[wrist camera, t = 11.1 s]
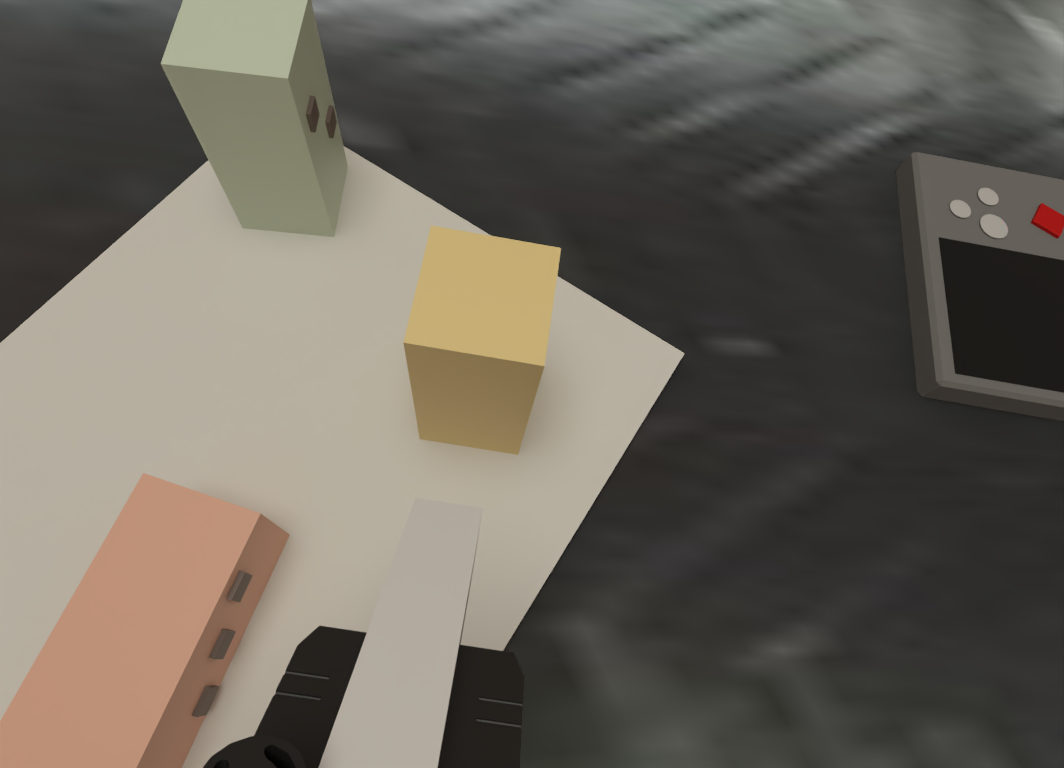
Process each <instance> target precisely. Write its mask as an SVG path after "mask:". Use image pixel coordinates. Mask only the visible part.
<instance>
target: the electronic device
mask: <svg viewBox="0 0 1064 768" xmlns="http://www.w3.org/2000/svg"><path fill="white" fill-rule="evenodd" d="M896 179H897V189H898V200H899V210H900V220H901V230H902V241H903V251H904V261H905V271H906V282H907V292H908V302H909V312H910V323H911V333H912V343H913V353H914V364H915V374H916V384H917V392H918V393H919V394H920V395H921V396H922V397H926V398H932V399H938V400H944V401H949V402H955V403H961V404H967V405H973V406H978V407H984V408H990V409H996V410H1002V411H1007V412H1013V413H1019V414H1025V415H1031V416H1036V417H1042V418H1048V419H1054V420H1060V421H1064V180H1061V179H1056V178H1050V177H1045V176H1040V175H1035V174H1029V173H1024V172H1019V171H1014V170H1008V169H1003V168H998V167H993V166H987V165H982V164H977V163H972V162H966V161H961V160H956V159H951V158H945V157H940V156H935V155H930V154H924V153H919V152H914V153H912V154H911V155H910V156H909V157H908V158H907V160H906V161H905V162H904V163H903V164H902V165H901V166H900V167H899V168H898V169H897V171H896Z"/></svg>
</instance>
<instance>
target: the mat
mask: <svg viewBox="0 0 1064 768" xmlns="http://www.w3.org/2000/svg"><path fill="white" fill-rule="evenodd" d="M343 147H344V146H343ZM344 151H345V156H346V160H347V165H348V168H347V173H346V178H345V184H344V189H343V194H342V199H341V204H340V209H339V215H338V220H337V225H336V230H335V235H334V237H327V236H317V235H307V234H297V233H287V232H277V231H266V230H256V229H246V228H242V226H241V224H240V222H239V220H238V218H237V216H236V214H235V212H234V210H233V208H232V206H231V204H230V202H229V200H228V198H227V196H226V194H225V192H224V190H223V188H222V186H221V184H220V182H219V180H218V178H217V176H216V174H215V172H214V170H213V168H212V166H211V164H210V162H209V160H208V161H207V162H206V163H205V164H204V165H202V166H201V167H200V168H199V169H198V170H197V171H196V172H194V173H193V174H192V175H191V176H190V177H189V178H188V179H187V180H185V181H184V182H183V183H182V184H181V185H180V186H179V187H177V188H176V189H175V190H174V191H173V192H172V193H171V194H169V195H168V196H167V197H166V198H165V199H164V200H163V201H161V202H160V203H159V204H158V205H157V206H156V207H155V208H154V209H152V210H151V211H150V212H149V213H148V214H147V215H146V216H144V217H143V218H142V219H141V220H140V221H139V222H138V223H136V224H135V225H134V226H133V227H132V228H131V229H130V230H129V231H127V232H126V233H125V234H124V235H123V236H122V237H121V238H119V239H118V240H117V241H116V242H115V243H114V244H113V245H111V246H110V247H109V248H108V249H107V250H106V251H105V252H103V253H102V254H101V255H100V256H99V257H98V258H97V259H96V260H94V261H93V262H92V263H91V264H90V265H89V266H88V267H86V268H85V269H84V270H83V271H82V272H81V273H80V274H78V275H77V276H76V277H75V278H74V279H73V280H72V281H70V282H69V283H68V284H67V285H66V286H65V287H64V288H63V289H61V290H60V291H59V292H58V293H57V294H56V295H55V296H53V297H52V298H51V299H50V300H49V301H48V302H47V303H45V304H44V305H43V306H42V307H41V308H40V309H39V310H37V311H36V312H35V313H34V314H33V315H32V316H31V317H30V318H28V319H27V320H26V321H25V322H24V323H23V324H22V325H20V326H19V327H18V328H17V329H16V330H15V331H14V332H12V333H11V334H10V335H9V336H8V337H7V338H6V339H5V340H3V341H2V342H1V343H0V721H1V719H2V717H3V715H4V714H5V712H6V710H7V708H8V707H9V705H10V703H11V701H12V700H13V698H14V696H15V695H16V693H17V691H18V689H19V688H20V686H21V684H22V682H23V681H24V679H25V677H26V675H27V674H28V672H29V670H30V669H31V667H32V665H33V663H34V662H35V660H36V658H37V656H38V655H39V653H40V651H41V649H42V648H43V646H44V644H45V643H46V641H47V639H48V637H49V636H50V634H51V632H52V630H53V629H54V627H55V625H56V623H57V622H58V620H59V618H60V616H61V615H62V613H63V611H64V610H65V608H66V606H67V604H68V603H69V601H70V599H71V597H72V596H73V594H74V592H75V590H76V589H77V587H78V585H79V584H80V582H81V580H82V578H83V577H84V575H85V573H86V571H87V570H88V568H89V566H90V564H91V563H92V561H93V559H94V557H95V556H96V554H97V552H98V551H99V549H100V547H101V545H102V544H103V542H104V540H105V538H106V537H107V535H108V533H109V531H110V530H111V528H112V526H113V525H114V523H115V521H116V519H117V518H118V516H119V514H120V512H121V511H122V509H123V507H124V505H125V504H126V502H127V500H128V498H129V497H130V495H131V493H132V492H133V490H134V488H135V486H136V485H137V483H138V481H139V479H140V478H141V476H142V474H143V473H145V474H148V475H151V476H154V477H157V478H160V479H162V480H165V481H168V482H171V483H174V484H177V485H180V486H183V487H186V488H189V489H191V490H194V491H197V492H200V493H203V494H206V495H209V496H212V497H215V498H218V499H220V500H223V501H226V502H229V503H232V504H235V505H238V506H241V507H244V508H247V509H250V510H252V511H255V512H258V513H261V514H262V515H264V516H265V517H266V518H268V519H269V520H270V521H272V522H273V523H274V524H276V525H277V526H279V527H280V528H281V529H283V530H284V531H285V532H287V533H288V534H289V535H290V536H289V538H288V540H287V542H286V544H285V546H284V548H283V551H282V553H281V555H280V557H279V559H278V561H277V564H276V566H275V568H274V570H273V572H272V574H271V576H270V579H269V581H268V583H267V585H266V587H265V589H264V592H263V594H262V596H261V598H260V600H259V602H258V604H257V607H256V609H255V611H254V613H253V615H252V617H251V620H250V622H249V624H248V626H247V628H246V630H245V632H244V635H243V637H242V639H241V641H240V643H239V645H238V648H237V650H236V652H235V654H234V656H233V658H232V660H231V663H230V665H229V667H228V669H227V671H226V673H225V676H224V678H223V680H222V682H221V684H220V686H219V689H218V692H217V694H216V696H215V698H214V700H213V702H212V705H211V707H210V709H209V711H208V713H207V715H206V716H205V719H204V721H203V723H202V725H201V727H200V729H199V732H198V734H197V736H196V738H195V740H194V742H193V745H192V747H191V749H190V751H189V753H188V755H187V757H186V760H185V762H184V764H183V766H182V768H203V767H204V765H205V764H206V763H207V761H208V760H209V759H210V758H211V756H213V755H214V754H216V753H217V752H219V751H220V750H221V749H223V748H224V747H226V746H227V745H229V744H230V743H233V742H236V741H239V740H242V739H245V738H248V737H251V736H254V735H255V733H256V730H257V728H258V726H259V724H260V722H261V720H262V718H263V716H264V714H265V712H266V710H267V708H268V706H269V703H270V701H271V699H272V697H273V696H274V695H275V692H276V689H277V687H278V685H279V683H280V681H281V679H282V676H283V675H285V671H286V668H287V666H288V664H289V662H290V660H291V658H292V656H293V654H294V652H295V650H296V647H297V645H298V644H299V643H300V642H302V641H303V640H304V639H305V638H306V637H307V636H308V635H309V634H311V633H312V632H313V631H314V630H315V629H316V628H317V627H318V626H319V625H320V626H326V627H333V628H340V629H346V630H353V631H360V632H367V631H368V628H369V625H370V623H371V620H372V617H373V614H374V611H375V609H376V606H377V603H378V600H379V597H380V595H381V592H382V589H383V586H384V584H385V581H386V578H387V575H388V572H389V570H390V567H391V564H392V561H393V558H394V556H395V553H396V550H397V547H398V545H399V542H400V539H401V536H402V533H403V531H404V528H405V525H406V522H407V519H408V517H409V514H410V511H411V508H412V506H413V503H414V500H415V498H420V499H427V500H433V501H439V502H446V503H452V504H459V505H465V506H471V507H478V508H483V511H482V517H481V524H480V530H479V536H478V542H477V548H476V555H475V561H474V567H473V573H472V579H471V586H470V592H469V598H468V604H467V610H466V616H465V622H464V627H463V633H462V639H461V645H466V646H472V647H479V648H486V649H492V650H499V651H503V650H504V648H505V647H506V645H507V643H508V642H509V640H510V638H511V637H512V635H513V633H514V632H515V630H516V629H517V627H518V625H519V624H520V622H521V620H522V619H523V617H524V615H525V614H526V612H527V611H528V609H529V607H530V606H531V604H532V602H533V601H534V599H535V597H536V596H537V594H538V593H539V591H540V589H541V588H542V586H543V584H544V583H545V581H546V579H547V578H548V576H549V575H550V573H551V571H552V570H553V568H554V566H555V565H556V563H557V561H558V560H559V558H560V557H561V555H562V553H563V552H564V550H565V548H566V547H567V545H568V543H569V542H570V540H571V539H572V537H573V535H574V534H575V532H576V530H577V529H578V527H579V525H580V524H581V522H582V520H583V519H584V517H585V516H586V514H587V512H588V511H589V509H590V507H591V506H592V504H593V502H594V501H595V499H596V498H597V496H598V494H599V493H600V491H601V489H602V488H603V486H604V484H605V483H606V481H607V480H608V478H609V476H610V475H611V473H612V471H613V470H614V468H615V466H616V465H617V463H618V462H619V460H620V458H621V457H622V455H623V453H624V452H625V450H626V448H627V447H628V445H629V444H630V442H631V440H632V439H633V437H634V435H635V434H636V432H637V430H638V429H639V427H640V426H641V424H642V422H643V421H644V419H645V417H646V416H647V414H648V412H649V411H650V409H651V408H652V406H653V404H654V403H655V401H656V399H657V398H658V396H659V394H660V393H661V391H662V390H663V388H664V386H665V385H666V383H667V381H668V380H669V378H670V376H671V375H672V373H673V372H674V370H675V368H676V367H677V365H678V363H679V362H680V360H681V358H682V357H683V355H684V353H683V352H681V351H680V350H678V349H676V348H675V347H673V346H671V345H670V344H668V343H666V342H665V341H663V340H661V339H660V338H658V337H657V336H655V335H653V334H652V333H650V332H648V331H647V330H645V329H643V328H642V327H640V326H638V325H637V324H635V323H634V322H632V321H630V320H629V319H627V318H625V317H624V316H622V315H620V314H619V313H617V312H615V311H614V310H612V309H611V308H609V307H607V306H606V305H604V304H602V303H601V302H599V301H597V300H596V299H594V298H592V297H591V296H589V295H588V294H586V293H584V292H583V291H581V290H579V289H578V288H576V287H574V286H573V285H571V284H569V283H568V282H566V281H565V280H563V279H561V278H560V277H558V276H557V281H556V288H555V295H554V302H553V309H552V317H551V324H550V331H549V338H548V345H547V352H546V359H545V366H544V370H543V373H542V376H541V380H540V383H539V386H538V390H537V393H536V396H535V400H534V403H533V406H532V410H531V413H530V416H529V420H528V423H527V426H526V430H525V433H524V436H523V440H522V443H521V446H520V450H519V453H518V455H516V454H510V453H503V452H497V451H491V450H485V449H479V448H472V447H466V446H460V445H454V444H447V443H441V442H435V441H429V440H422V439H420V437H419V431H418V426H417V420H416V414H415V408H414V402H413V396H412V390H411V384H410V379H409V373H408V367H407V361H406V355H405V349H404V343H403V342H404V338H405V334H406V329H407V325H408V321H409V317H410V312H411V308H412V304H413V300H414V295H415V291H416V287H417V283H418V278H419V274H420V270H421V266H422V261H423V257H424V253H425V249H426V244H427V240H428V236H429V232H430V227H431V225H432V226H437V227H443V228H449V229H455V230H460V231H466V232H472V233H477V234H483V235H489V234H487V233H486V232H484V231H482V230H481V229H479V228H477V227H476V226H474V225H473V224H471V223H469V222H468V221H466V220H464V219H463V218H461V217H459V216H458V215H456V214H454V213H453V212H451V211H450V210H448V209H446V208H445V207H443V206H441V205H440V204H438V203H436V202H435V201H433V200H431V199H430V198H428V197H427V196H425V195H423V194H422V193H420V192H418V191H417V190H415V189H413V188H412V187H410V186H408V185H407V184H405V183H404V182H402V181H400V180H399V179H397V178H395V177H394V176H392V175H390V174H389V173H387V172H385V171H384V170H382V169H381V168H379V167H377V166H376V165H374V164H372V163H371V162H369V161H367V160H366V159H364V158H362V157H361V156H359V155H358V154H356V153H354V152H353V151H351V150H349V149H348V148H346V147H344ZM489 236H491V235H489Z"/></svg>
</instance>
